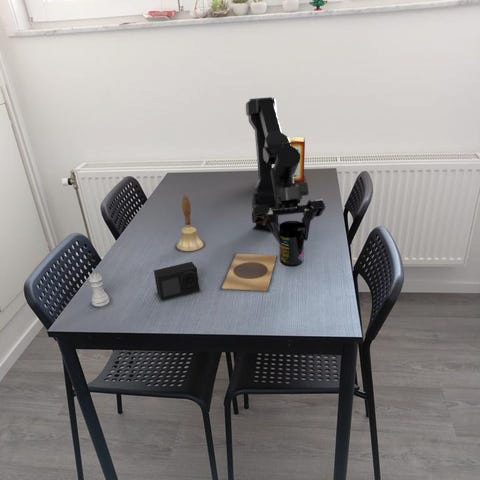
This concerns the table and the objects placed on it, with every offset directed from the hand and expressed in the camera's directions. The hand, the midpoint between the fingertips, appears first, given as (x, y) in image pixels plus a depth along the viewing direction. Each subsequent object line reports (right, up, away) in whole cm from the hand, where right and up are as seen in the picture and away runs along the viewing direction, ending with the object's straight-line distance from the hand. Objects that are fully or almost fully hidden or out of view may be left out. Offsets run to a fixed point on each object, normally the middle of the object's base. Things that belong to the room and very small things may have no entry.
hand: (293, 241), depth 125 cm
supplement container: (0, -5, +5) cm, 7 cm away
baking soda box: (+8, +38, +74) cm, 84 cm away
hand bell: (-29, +3, +25) cm, 39 cm away
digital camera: (-30, -14, +1) cm, 33 cm away
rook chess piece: (-49, -16, -1) cm, 52 cm away
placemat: (-11, -7, +9) cm, 16 cm away
